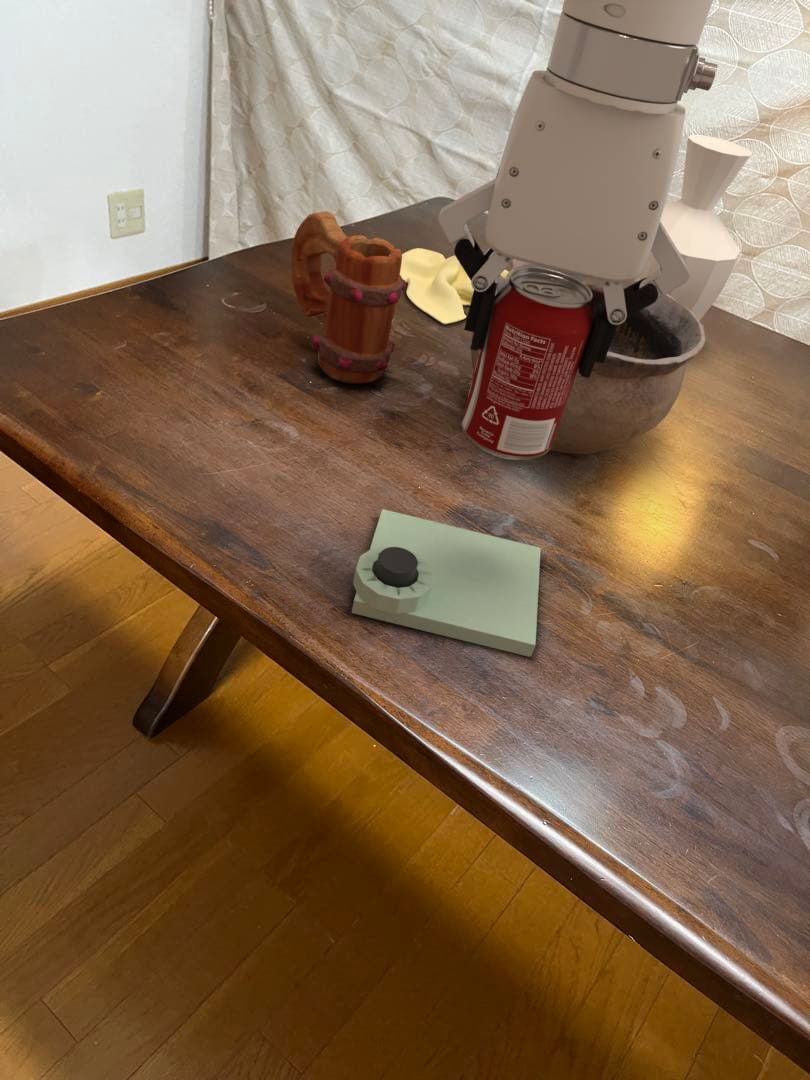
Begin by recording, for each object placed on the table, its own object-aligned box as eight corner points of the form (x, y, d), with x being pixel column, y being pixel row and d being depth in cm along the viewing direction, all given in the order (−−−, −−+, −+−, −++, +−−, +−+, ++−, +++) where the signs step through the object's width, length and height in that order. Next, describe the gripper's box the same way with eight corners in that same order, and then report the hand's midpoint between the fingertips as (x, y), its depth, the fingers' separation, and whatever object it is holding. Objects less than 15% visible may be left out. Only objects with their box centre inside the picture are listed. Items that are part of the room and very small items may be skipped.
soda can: (554, 473, 61) (610, 316, 53) (461, 458, 60) (504, 297, 53) (543, 423, 66) (593, 273, 59) (457, 409, 65) (496, 255, 58)
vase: (660, 316, 124) (733, 132, 108) (716, 366, 114) (805, 171, 98) (575, 313, 119) (638, 120, 103) (625, 365, 109) (704, 160, 93)
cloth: (384, 249, 124) (392, 206, 120) (508, 268, 127) (519, 226, 124) (397, 318, 107) (406, 271, 103) (539, 337, 110) (553, 292, 107)
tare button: (371, 582, 65) (375, 567, 64) (379, 558, 67) (382, 542, 66) (410, 592, 65) (414, 577, 64) (416, 567, 67) (420, 552, 66)
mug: (406, 383, 95) (433, 250, 85) (353, 402, 89) (376, 262, 80) (316, 327, 101) (332, 197, 92) (262, 342, 96) (274, 206, 87)
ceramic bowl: (538, 362, 105) (576, 241, 95) (689, 451, 94) (748, 326, 85) (411, 406, 91) (440, 270, 82) (572, 517, 81) (627, 376, 71)
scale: (344, 615, 65) (349, 586, 63) (374, 519, 75) (380, 492, 73) (530, 661, 65) (541, 634, 63) (536, 559, 75) (546, 533, 73)
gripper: (759, 89, 50) (650, 361, 61) (471, 20, 51) (414, 303, 62) (784, 116, 45) (658, 412, 56) (457, 38, 45) (397, 348, 56)
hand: (530, 353), depth 59 cm, fingers closed on soda can, 6 cm apart
